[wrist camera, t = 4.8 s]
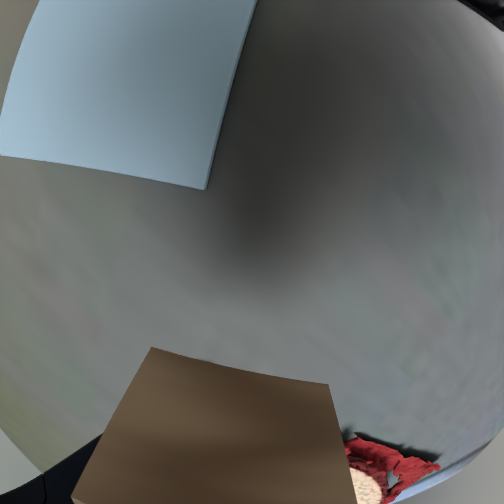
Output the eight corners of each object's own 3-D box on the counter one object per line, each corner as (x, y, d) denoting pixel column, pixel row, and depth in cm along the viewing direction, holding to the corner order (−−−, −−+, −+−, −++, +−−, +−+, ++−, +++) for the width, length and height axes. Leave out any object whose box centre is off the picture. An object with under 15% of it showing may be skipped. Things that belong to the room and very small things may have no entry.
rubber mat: (273, -48, 10) (274, -54, 9) (206, 189, 14) (203, 190, 13) (65, -36, 10) (61, -40, 9) (0, 154, 13) (-6, 154, 13)
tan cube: (328, 384, 8) (365, 542, 3) (277, 475, 9) (280, 586, 4) (151, 346, 8) (70, 496, 3) (147, 448, 9) (108, 555, 4)
